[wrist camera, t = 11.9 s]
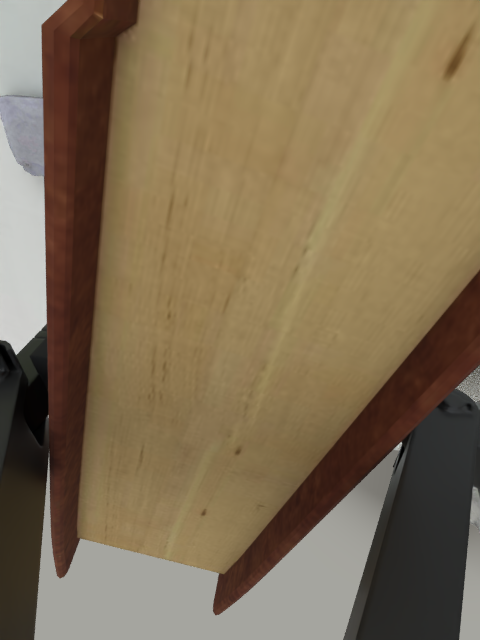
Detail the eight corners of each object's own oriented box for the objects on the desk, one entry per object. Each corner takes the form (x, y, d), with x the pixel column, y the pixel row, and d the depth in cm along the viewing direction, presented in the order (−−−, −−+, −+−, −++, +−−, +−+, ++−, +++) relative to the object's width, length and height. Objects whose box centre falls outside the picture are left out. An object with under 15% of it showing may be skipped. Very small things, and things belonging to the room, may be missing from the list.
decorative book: (263, 13, 26) (-44, -1156, 1) (359, 53, 27) (1199, -278, 2) (195, 264, 39) (44, 577, 14) (261, 287, 40) (227, 620, 15)
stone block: (116, 173, 49) (95, 92, 42) (102, 188, 46) (77, 103, 39) (39, 167, 51) (6, 87, 43) (20, 181, 47) (-19, 98, 40)
